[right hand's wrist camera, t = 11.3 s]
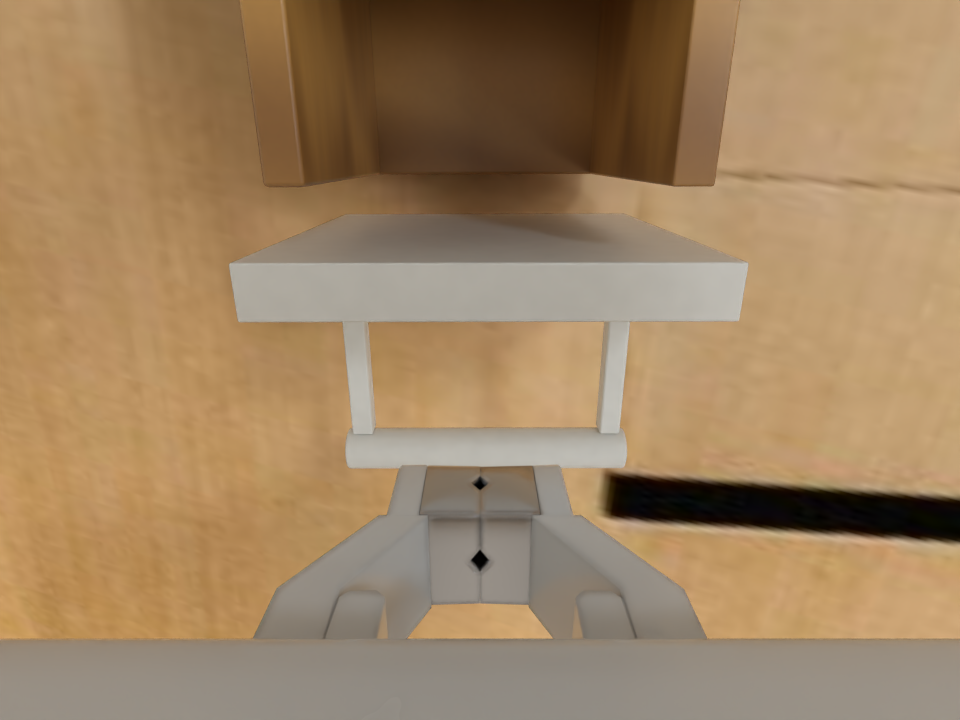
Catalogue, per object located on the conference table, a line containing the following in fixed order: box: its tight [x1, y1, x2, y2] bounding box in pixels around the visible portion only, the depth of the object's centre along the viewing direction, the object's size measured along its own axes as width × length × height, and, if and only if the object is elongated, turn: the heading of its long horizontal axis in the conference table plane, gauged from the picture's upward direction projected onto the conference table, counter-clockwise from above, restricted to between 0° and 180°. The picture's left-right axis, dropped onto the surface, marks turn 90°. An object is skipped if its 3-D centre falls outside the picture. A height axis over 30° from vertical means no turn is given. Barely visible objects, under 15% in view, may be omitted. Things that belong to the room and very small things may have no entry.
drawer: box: [229, 0, 748, 468], centre depth 14 cm, size 19×10×10 cm, turn 0°
